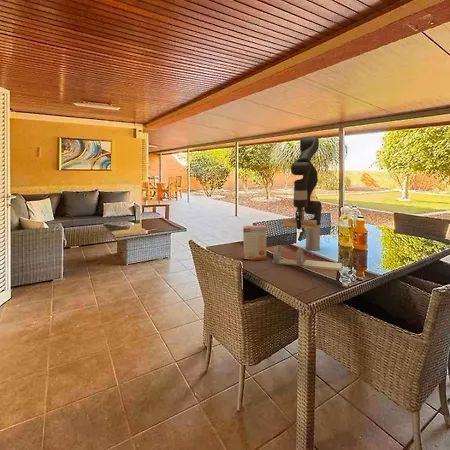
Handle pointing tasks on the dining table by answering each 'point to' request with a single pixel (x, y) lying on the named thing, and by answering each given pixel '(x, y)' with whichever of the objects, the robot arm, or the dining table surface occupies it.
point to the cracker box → (254, 242)
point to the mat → (323, 265)
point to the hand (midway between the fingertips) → (299, 228)
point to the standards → (286, 261)
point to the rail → (303, 223)
